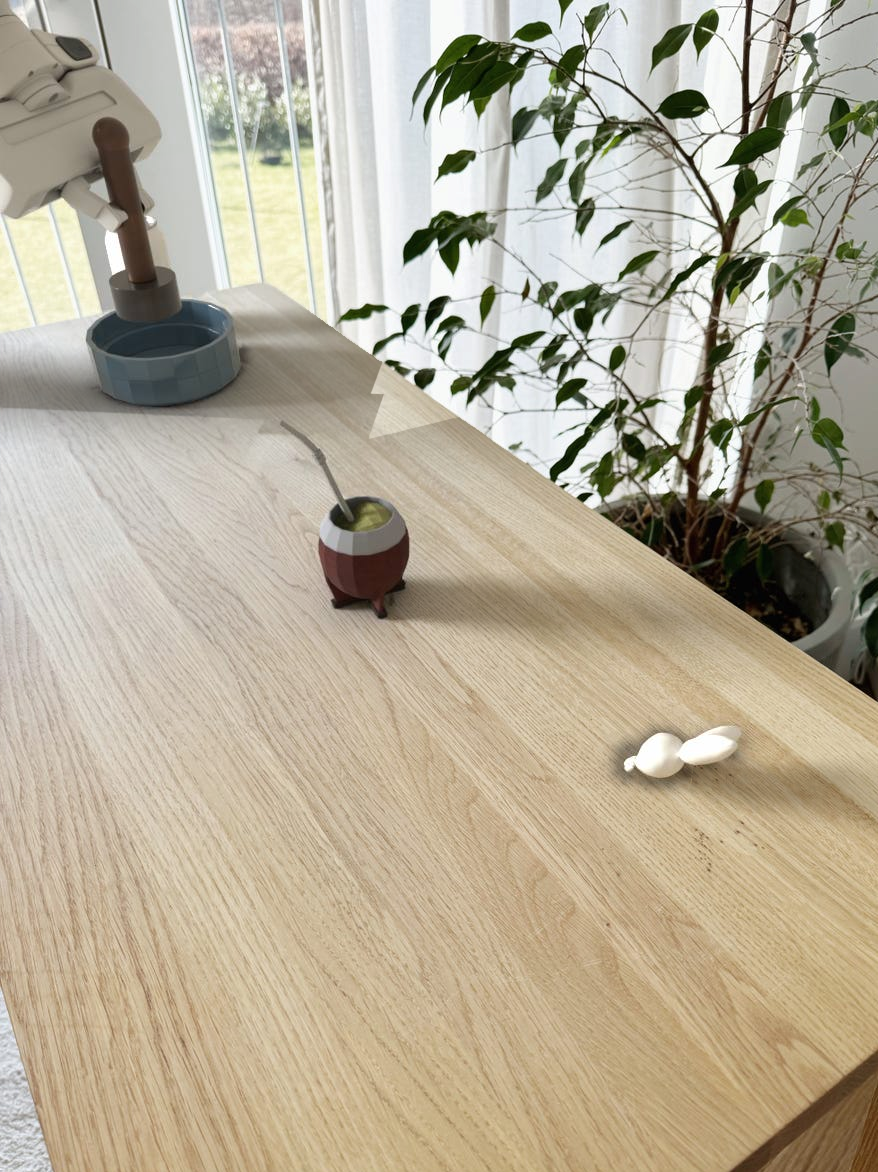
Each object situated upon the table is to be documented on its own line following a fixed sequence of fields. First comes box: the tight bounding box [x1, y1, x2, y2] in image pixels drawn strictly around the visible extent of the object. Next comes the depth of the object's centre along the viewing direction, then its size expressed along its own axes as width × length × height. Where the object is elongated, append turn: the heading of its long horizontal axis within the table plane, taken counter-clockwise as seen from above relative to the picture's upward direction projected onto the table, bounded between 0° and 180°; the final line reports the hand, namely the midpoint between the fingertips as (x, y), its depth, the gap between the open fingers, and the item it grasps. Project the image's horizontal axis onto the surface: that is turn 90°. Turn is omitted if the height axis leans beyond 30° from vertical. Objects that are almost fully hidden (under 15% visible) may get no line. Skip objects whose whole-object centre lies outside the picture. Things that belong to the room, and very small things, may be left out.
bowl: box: [85, 298, 242, 407], centre depth 109 cm, size 15×15×6 cm
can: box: [104, 215, 172, 275], centre depth 116 cm, size 6×6×12 cm
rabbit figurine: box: [623, 725, 743, 779], centre depth 66 cm, size 6×4×8 cm
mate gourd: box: [279, 420, 410, 620], centre depth 77 cm, size 8×8×15 cm
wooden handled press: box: [92, 117, 182, 322], centre depth 89 cm, size 6×6×16 cm
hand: (134, 218), depth 89 cm, fingers closed on wooden handled press, 2 cm apart
